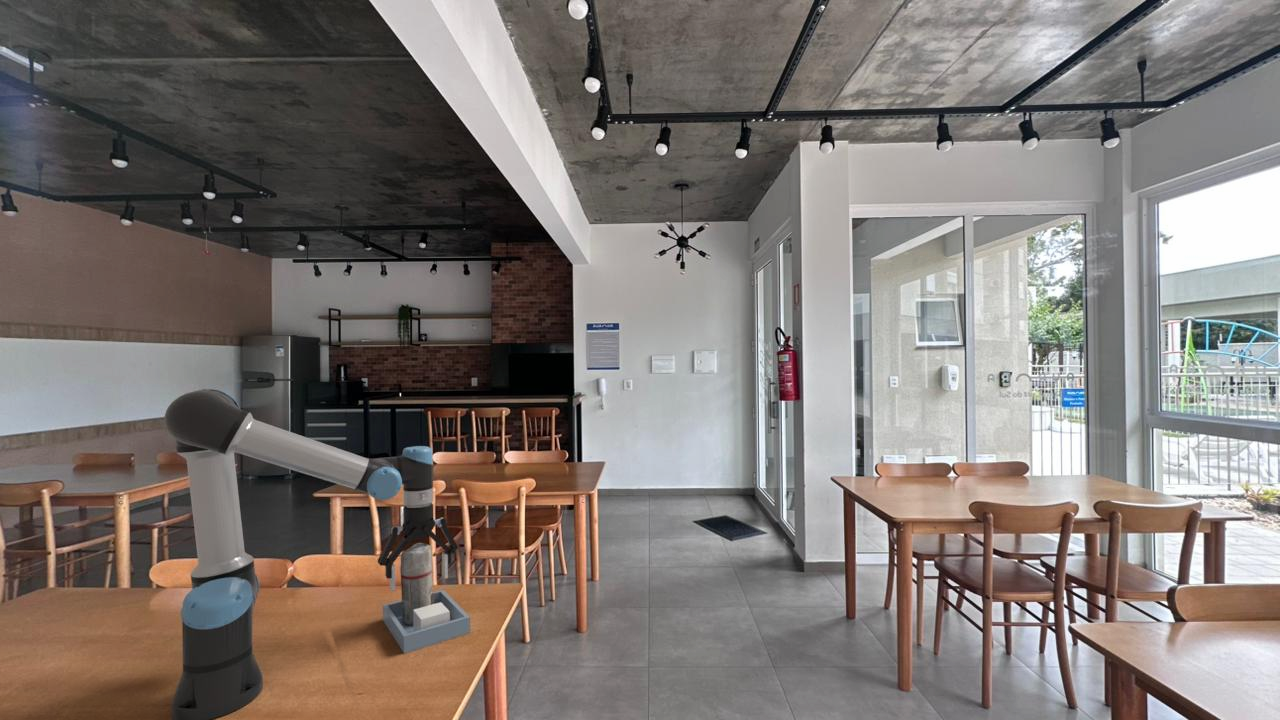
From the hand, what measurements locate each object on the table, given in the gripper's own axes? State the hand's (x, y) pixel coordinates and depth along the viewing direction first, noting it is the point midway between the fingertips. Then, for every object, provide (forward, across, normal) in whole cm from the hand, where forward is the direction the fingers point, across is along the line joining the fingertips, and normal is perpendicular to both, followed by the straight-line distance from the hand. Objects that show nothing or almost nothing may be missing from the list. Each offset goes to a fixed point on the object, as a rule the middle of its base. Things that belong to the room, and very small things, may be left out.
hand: (419, 583), depth 148 cm
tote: (+11, 0, -5) cm, 12 cm away
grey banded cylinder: (+10, 0, 0) cm, 10 cm away
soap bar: (+10, 0, -10) cm, 14 cm away
